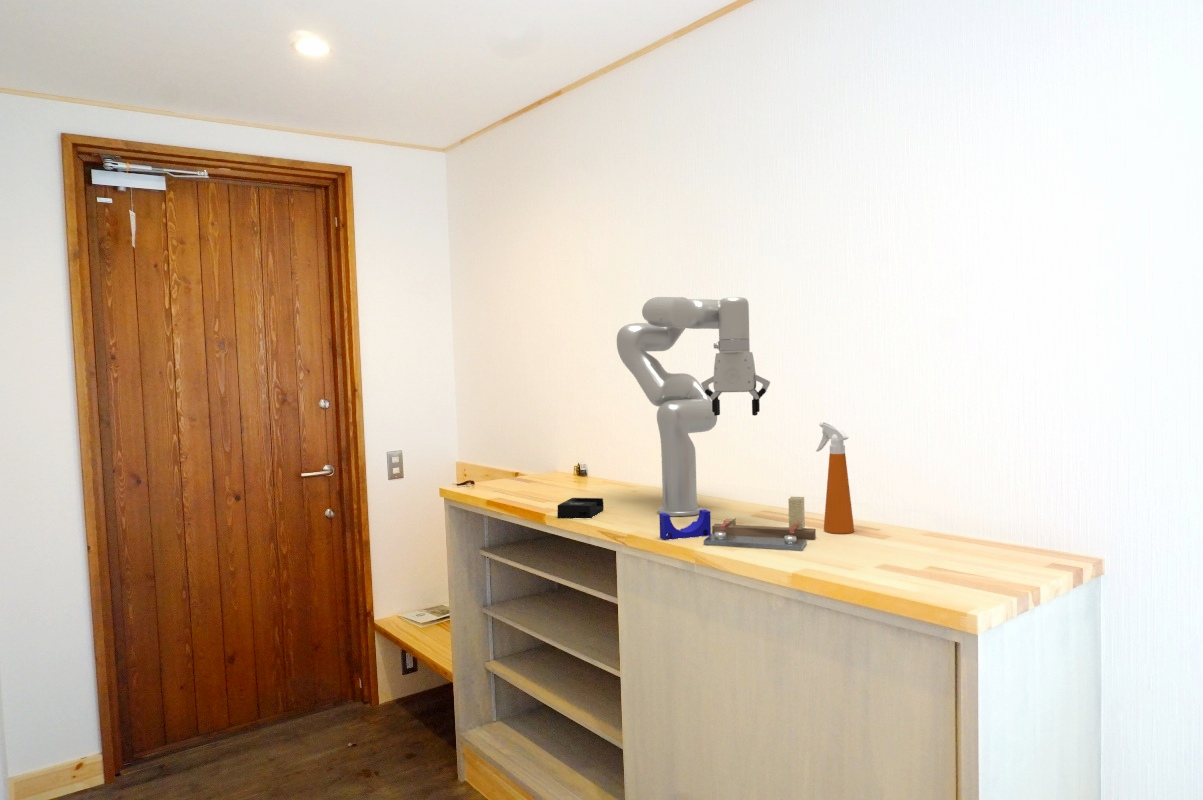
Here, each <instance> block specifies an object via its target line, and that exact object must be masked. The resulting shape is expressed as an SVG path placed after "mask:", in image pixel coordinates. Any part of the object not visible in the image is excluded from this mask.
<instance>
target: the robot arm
mask: <svg viewBox="0 0 1203 800" xmlns="http://www.w3.org/2000/svg"><path fill="white" fill-rule="evenodd" d="M749 305H750V304H749V301H748V299H747V298H745V297H741V296H733V297H732V296H731V297H724V298H721V299H708V298H706V299H705V298H703V299H702V298H701V299H699V298H696V299H695V298H687V297H683V296H655V297H652V298H649V299H648V300H647V301H646V302H645V303H644V304H643V306H642V309H641V313H642V317H643V320H644V321H646V322H636V323H635V322H634V323H628V324H626V325H623V326H622V327H621V328H620V329H619V330H618V332H617V334H616V349H617V352H618V356H619V358H620V360H621V362H622V363H623V364H624V366H625V367H626V369H628V371H629V372H630V373H631V375H633V377H634V378H635V380H636V382H637V383H638V385H639V386H640V389H642V391H643V393H644V395H645V396H646V398H647V399H648V400H649V402H650V403H651V404H652V405H653V406H655V407H658V409H657V410H656V423H657V427H658V432H659V437H660V449H661V451H660V452H661V455H660V456H661V478H662V479H661V480H662V481H661V482H662V483H661V485H662V487H661V488H662V506H659V507H658V508H657V514H659V513H666V514H669V515H670V517H686V516H687V517H689V516H695V515H697V516H698V515H699V510H704V509H703V507H702V506H699V505H698V502H697V501H698V500H697V499H698V498H697V497H698V496H697V495H698V493H697V491H698V490H697V459H696V458H697V457H696V456H697V455H696V447H695V445H694V443H693V441H692V439H691V437H690V436H689V434H696V433H697V434H698V433H703V432H704V433H705V432H709V431H710V430H712V429H714V427H715V426H716V425H717V421H718V416H719V415H720V414H721V406H720V404H721V401H720V399H719V397H720V395H721V394H722V393H749V394H750V395H751V396H752V397H753V398H752V399H751V414H752V416H758V413H760V412H761V411H760V399H761V398H762V397H763V396H764V395H765V394H766V393H767V390H768V389H769V387H770V385H771V381H770V380H768V379H766V378H764V377H762V376H760V375H758V374H756V365H755V360H754V354H753V352H752V351H750V347H751V346H750V310H749V309H750V307H749ZM686 329H690V330H692V329H693V330H699V329H700V330H702V329H703V330H705V329H708V330H711V329H712V330H718V341H717V342H716V343H713V349H714V350H716V349H717V350H718V353H717V352H716V353H715V357H714V366H713V376H711V377H709V378H707V379H706V380H704V381H702V382H701V383H700V382H699V381H698V379H696V378H695V376H693V375H691V374H689V373H683V372H681V373H670V372H668V371H666V370H665V368H664V367H663V366H662V363H660V361H659V360H658V359H657V358H656V357H654V356H653V355H652V354H649V353H648V352H665V351H666V352H667V351H668V350H670V349H671V348H672V347H673V346H674V345H675V344H676V343H677V341H678V340H679V339H680V337H681V335H682V334H683V333H684V331H685V330H686ZM757 382H758V383H760V384H761V385H762V386H761V388H760V390H759V391H758V390H757ZM711 384H713V385H712V386H713V390H714V391H712V390H711V389H710V385H711Z"/></svg>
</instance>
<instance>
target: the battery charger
mask: <svg viewBox="0 0 1203 800" xmlns="http://www.w3.org/2000/svg"><path fill="white" fill-rule="evenodd" d="M604 506H605V505H604V498H603V497H601V498H600V497H571V498H569V499H567V500H565V501H563V502H561V503H559V504H558V505H557V519H566V520H567V519H569V520H570V519H571V520H573V518H591V519H593V518H594V517H596V516H597V514H598V513H599V514H600V512H601V513H602V512H604V508H605V507H604ZM599 514H598V515H599ZM595 515H596V516H595ZM593 516H594V517H593ZM592 517H593V518H592Z"/></svg>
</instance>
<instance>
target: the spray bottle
mask: <svg viewBox="0 0 1203 800" xmlns="http://www.w3.org/2000/svg"><path fill="white" fill-rule="evenodd" d="M819 427H820V428H822V432H821V433H822V438H821V440H820V443H819V445H818V446H817V449H816V450H815V452H820V451H821V450H823V449H824V448H825V446H826V445H827V444H828V442H829V441H830V445H829V457H828V469H827V470H828V471H827V481H826V495H825V507H824V508H825V509H824V517H823V518H824V520H823V531H824V532H826V533H830V534H835V535H836V534H837V535H846V534H851V533H854V532H855V525H854V518H853V517H854V516H853V508H852V501H851V491H850V482H849V481H850V480H849V475H848V466H847V465H848V464H847V457H846V446H845V445H844V441H847V440H848V439H849V436H848V435H847V433H846V432H845V431H844V430H843V429H841V428H839V427H838V426H837V425H834V424H833V423H831V422H829V421H820V422H819Z"/></svg>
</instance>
